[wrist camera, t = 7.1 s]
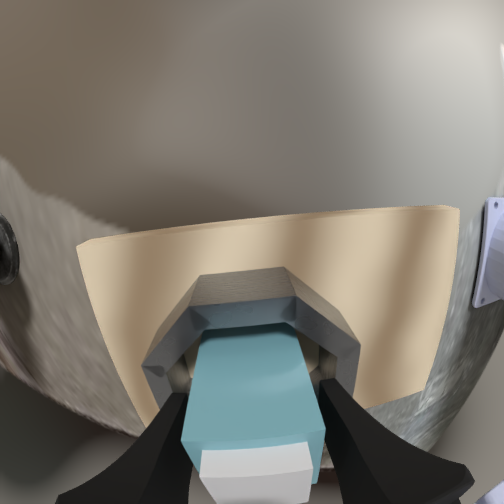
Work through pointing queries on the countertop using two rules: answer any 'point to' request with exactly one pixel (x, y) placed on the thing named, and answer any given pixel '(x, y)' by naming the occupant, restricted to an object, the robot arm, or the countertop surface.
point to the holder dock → (279, 296)
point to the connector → (253, 417)
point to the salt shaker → (8, 253)
